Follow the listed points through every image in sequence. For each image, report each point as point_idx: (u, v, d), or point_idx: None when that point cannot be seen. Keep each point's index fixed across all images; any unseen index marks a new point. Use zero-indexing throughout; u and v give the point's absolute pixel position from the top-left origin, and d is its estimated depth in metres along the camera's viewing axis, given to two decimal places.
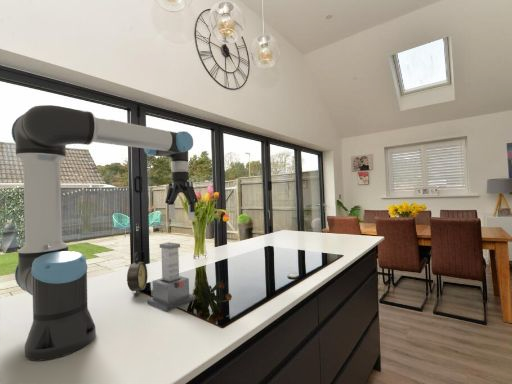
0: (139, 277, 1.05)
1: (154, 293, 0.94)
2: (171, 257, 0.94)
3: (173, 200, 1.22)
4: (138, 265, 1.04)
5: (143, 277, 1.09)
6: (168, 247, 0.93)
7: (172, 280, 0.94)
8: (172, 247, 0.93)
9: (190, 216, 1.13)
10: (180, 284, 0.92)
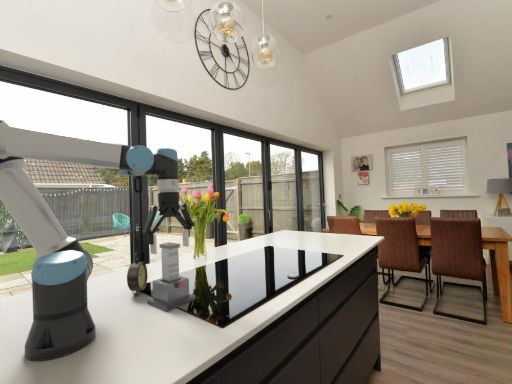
0: (139, 277, 1.05)
1: (154, 293, 0.94)
2: (171, 257, 0.94)
3: (183, 224, 1.01)
4: (138, 265, 1.04)
5: (143, 277, 1.09)
6: (168, 247, 0.93)
7: (172, 280, 0.94)
8: (172, 247, 0.93)
9: (151, 249, 0.91)
10: (180, 284, 0.92)
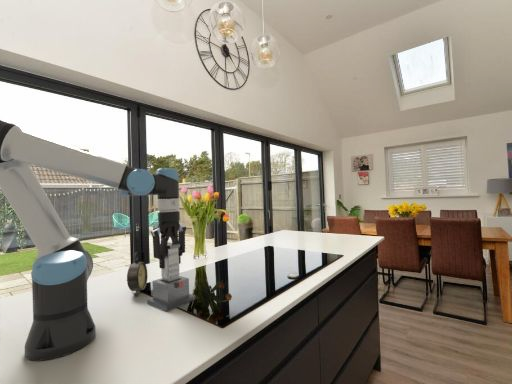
0: (139, 277, 1.05)
1: (154, 293, 0.94)
2: (171, 257, 0.94)
3: None
4: (138, 265, 1.04)
5: (143, 277, 1.09)
6: (168, 247, 0.93)
7: (172, 280, 0.94)
8: (172, 247, 0.93)
9: (162, 272, 0.94)
10: (180, 284, 0.92)
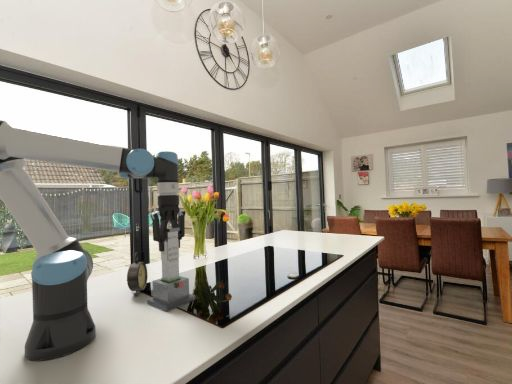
0: (139, 277, 1.05)
1: (154, 293, 0.94)
2: (171, 240, 0.94)
3: None
4: (138, 265, 1.04)
5: (143, 277, 1.09)
6: (168, 230, 0.93)
7: (171, 264, 0.94)
8: (172, 230, 0.93)
9: (162, 256, 0.94)
10: (180, 284, 0.92)
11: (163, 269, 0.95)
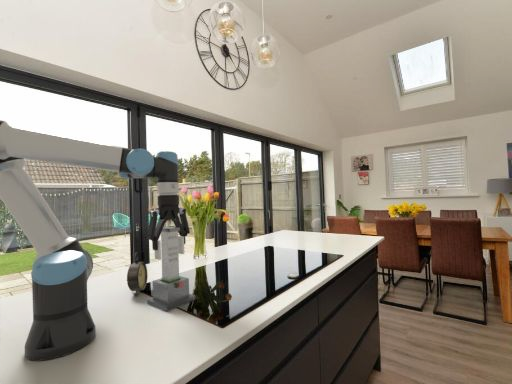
0: (139, 277, 1.05)
1: (154, 293, 0.94)
2: (171, 240, 0.94)
3: None
4: (138, 265, 1.04)
5: (143, 277, 1.09)
6: (168, 230, 0.93)
7: (171, 264, 0.94)
8: (172, 230, 0.93)
9: (155, 255, 0.92)
10: (180, 284, 0.92)
11: (163, 269, 0.95)
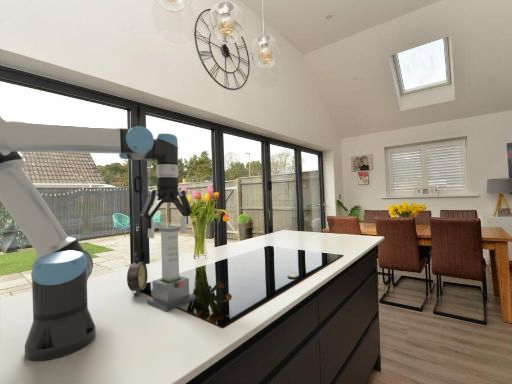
0: (139, 277, 1.05)
1: (154, 293, 0.94)
2: (171, 240, 0.94)
3: (181, 211, 1.01)
4: (138, 265, 1.04)
5: (143, 277, 1.09)
6: (168, 230, 0.93)
7: (171, 264, 0.94)
8: (172, 230, 0.93)
9: (148, 233, 0.91)
10: (180, 284, 0.92)
11: (163, 269, 0.95)
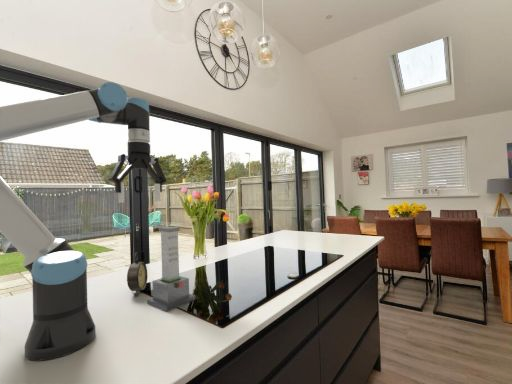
0: (139, 277, 1.05)
1: (154, 293, 0.94)
2: (171, 240, 0.94)
3: (155, 178, 0.99)
4: (138, 265, 1.04)
5: (143, 277, 1.09)
6: (168, 230, 0.93)
7: (171, 264, 0.94)
8: (172, 230, 0.93)
9: (118, 198, 0.90)
10: (180, 284, 0.92)
11: (163, 269, 0.95)
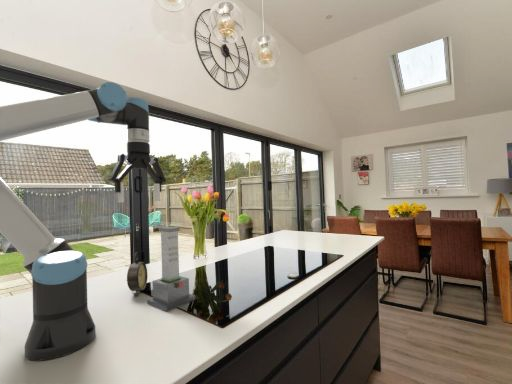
0: (139, 277, 1.05)
1: (154, 293, 0.94)
2: (171, 240, 0.94)
3: (154, 178, 0.99)
4: (138, 265, 1.04)
5: (143, 277, 1.09)
6: (168, 230, 0.93)
7: (171, 264, 0.94)
8: (172, 230, 0.93)
9: (118, 198, 0.90)
10: (180, 284, 0.92)
11: (163, 269, 0.95)
